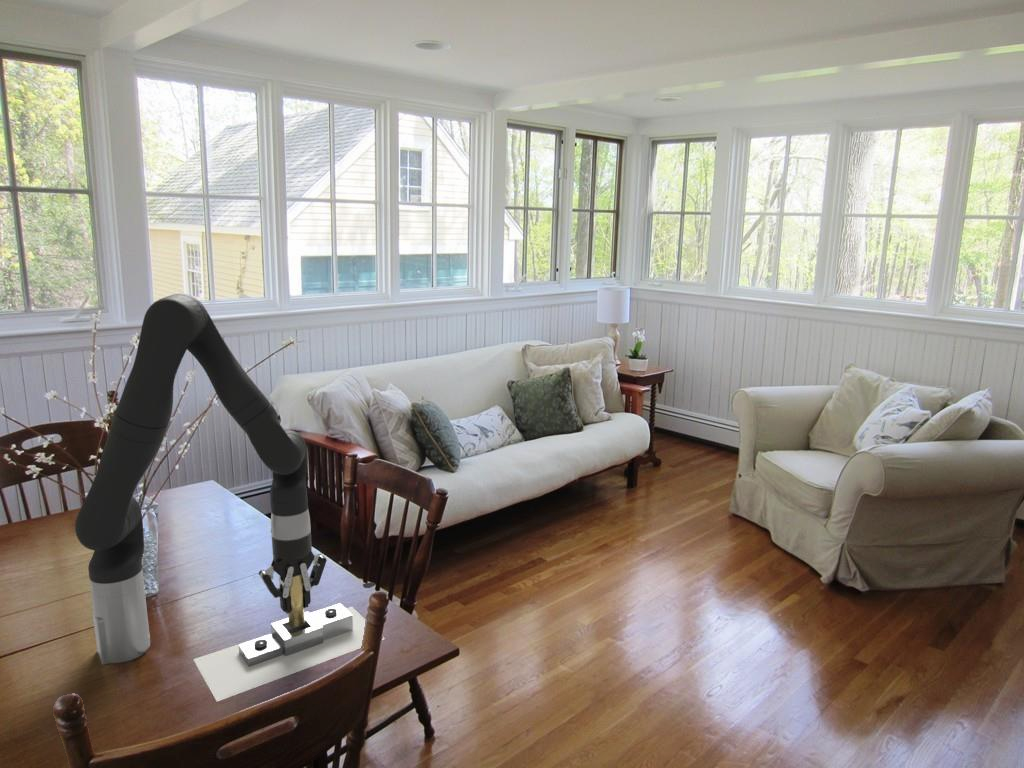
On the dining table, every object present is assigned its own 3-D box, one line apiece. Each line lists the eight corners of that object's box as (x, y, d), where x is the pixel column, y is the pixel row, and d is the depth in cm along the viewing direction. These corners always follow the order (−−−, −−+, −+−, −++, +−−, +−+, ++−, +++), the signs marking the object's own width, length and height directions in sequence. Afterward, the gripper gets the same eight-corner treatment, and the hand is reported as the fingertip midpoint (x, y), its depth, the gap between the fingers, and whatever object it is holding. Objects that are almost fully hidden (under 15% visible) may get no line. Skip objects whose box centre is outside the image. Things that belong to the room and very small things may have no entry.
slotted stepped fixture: (250, 669, 141) (248, 649, 140) (237, 650, 147) (236, 632, 146) (354, 631, 154) (353, 613, 153) (339, 616, 160) (338, 599, 159)
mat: (217, 704, 131) (216, 701, 131) (193, 661, 144) (193, 659, 144) (385, 641, 152) (385, 638, 152) (351, 608, 164) (351, 606, 164)
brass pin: (292, 628, 147) (288, 578, 145) (286, 621, 150) (283, 572, 147) (307, 623, 149) (304, 574, 147) (301, 616, 152) (298, 568, 149)
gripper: (262, 546, 138) (268, 628, 142) (332, 528, 146) (336, 605, 150) (249, 533, 144) (255, 612, 147) (317, 516, 152) (321, 591, 156)
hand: (296, 608), depth 149 cm, fingers closed on brass pin, 3 cm apart
